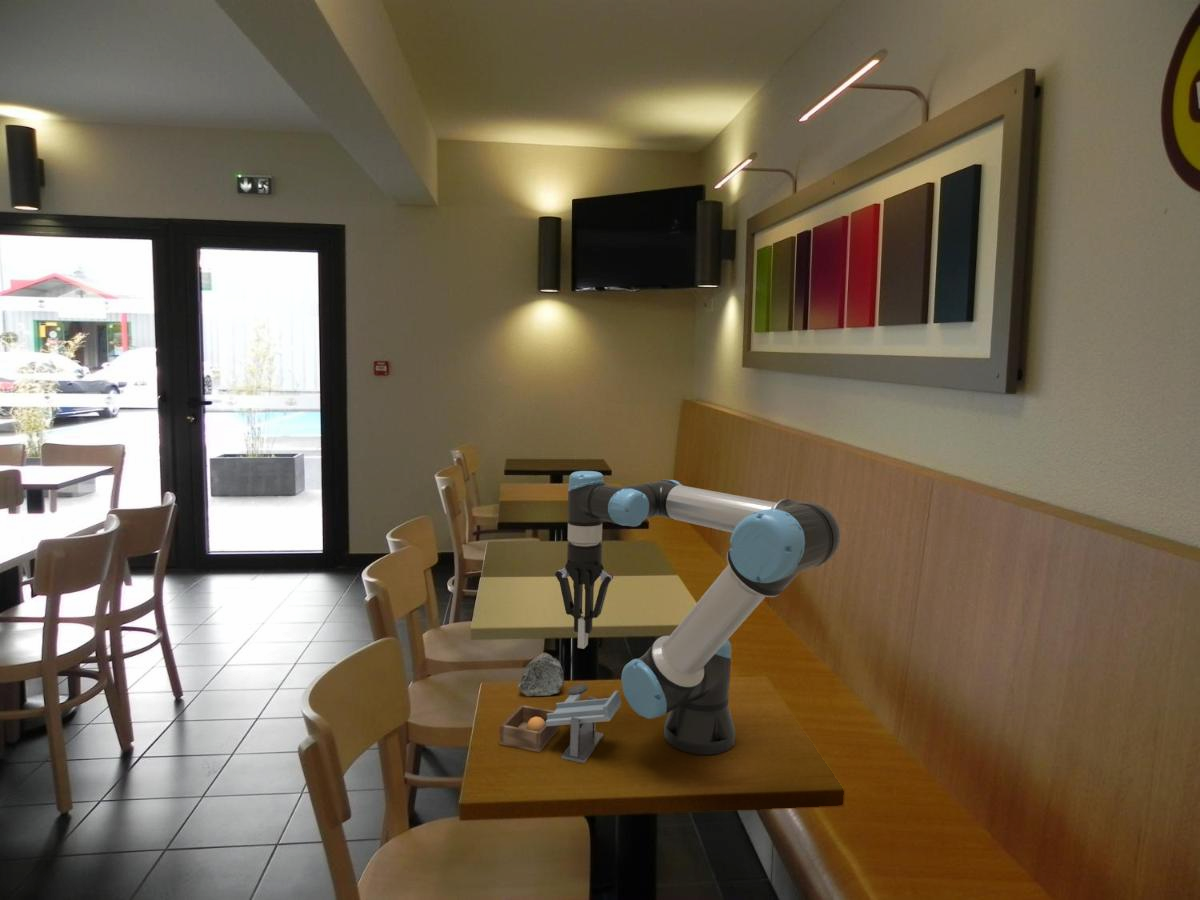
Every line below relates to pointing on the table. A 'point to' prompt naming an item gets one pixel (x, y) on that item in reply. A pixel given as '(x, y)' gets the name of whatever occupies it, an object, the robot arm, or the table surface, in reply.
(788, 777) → the table surface
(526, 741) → the tray
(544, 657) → the stone
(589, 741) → the pivot stand
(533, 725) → the ball
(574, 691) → the seesaw
